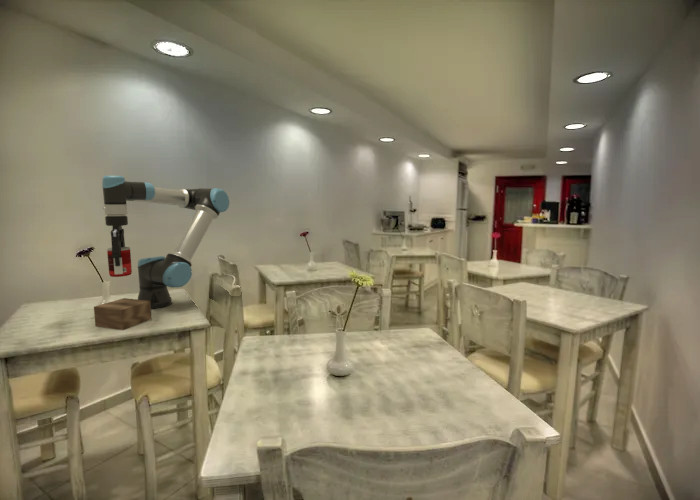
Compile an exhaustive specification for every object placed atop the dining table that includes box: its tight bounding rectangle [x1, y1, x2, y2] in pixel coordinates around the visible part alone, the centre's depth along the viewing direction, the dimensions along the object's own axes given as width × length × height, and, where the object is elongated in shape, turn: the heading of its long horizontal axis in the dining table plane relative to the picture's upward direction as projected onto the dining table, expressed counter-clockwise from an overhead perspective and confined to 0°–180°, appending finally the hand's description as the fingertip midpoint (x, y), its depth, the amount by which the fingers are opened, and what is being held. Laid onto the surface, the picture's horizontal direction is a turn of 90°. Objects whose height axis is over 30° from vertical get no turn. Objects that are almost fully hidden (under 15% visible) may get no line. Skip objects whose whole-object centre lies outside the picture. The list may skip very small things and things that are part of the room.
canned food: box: [106, 246, 133, 278], centre depth 152 cm, size 8×8×11 cm
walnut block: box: [93, 297, 152, 331], centre depth 155 cm, size 14×14×8 cm
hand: (120, 272), depth 153 cm, fingers closed on canned food, 8 cm apart
